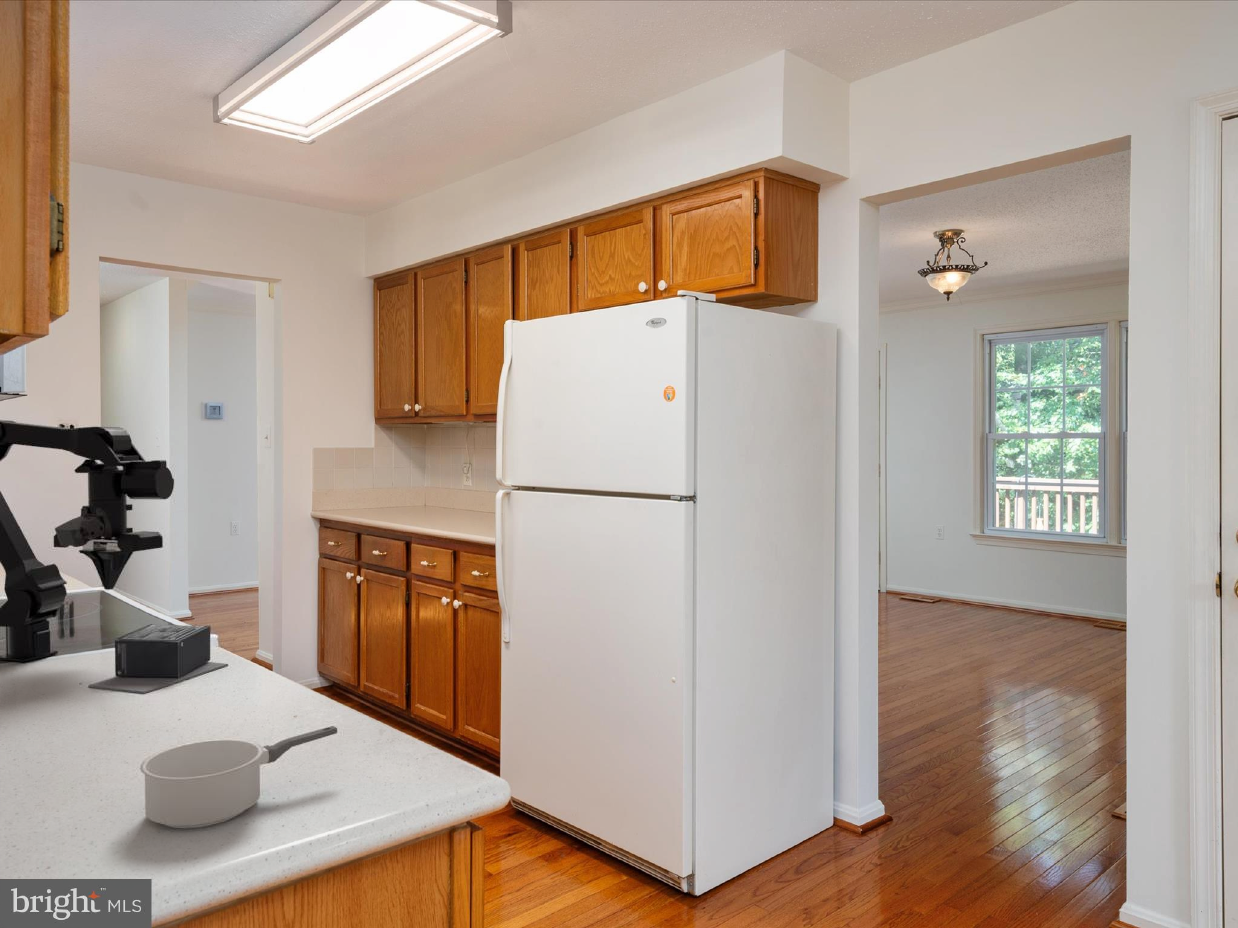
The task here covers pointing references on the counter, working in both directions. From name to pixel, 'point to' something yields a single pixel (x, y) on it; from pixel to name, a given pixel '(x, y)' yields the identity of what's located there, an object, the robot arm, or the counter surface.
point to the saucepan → (210, 778)
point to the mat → (152, 680)
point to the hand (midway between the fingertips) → (108, 589)
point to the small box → (162, 651)
